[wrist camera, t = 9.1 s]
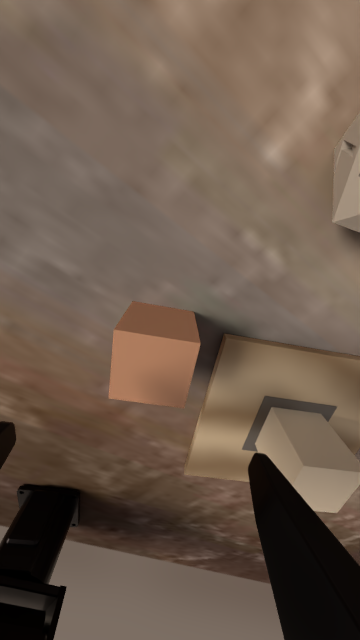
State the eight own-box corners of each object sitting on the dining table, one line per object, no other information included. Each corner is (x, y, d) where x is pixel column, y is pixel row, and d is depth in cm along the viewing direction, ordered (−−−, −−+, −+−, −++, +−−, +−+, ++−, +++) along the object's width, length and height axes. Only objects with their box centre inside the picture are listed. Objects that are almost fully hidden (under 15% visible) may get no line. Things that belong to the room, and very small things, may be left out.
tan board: (323, 482, 24) (328, 491, 23) (184, 466, 22) (184, 475, 22) (406, 364, 18) (418, 370, 17) (224, 333, 16) (226, 338, 16)
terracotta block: (182, 362, 18) (184, 408, 13) (127, 353, 17) (108, 398, 13) (193, 311, 16) (200, 343, 11) (132, 300, 15) (113, 329, 11)
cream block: (300, 449, 20) (337, 513, 16) (254, 443, 20) (278, 507, 15) (321, 413, 19) (368, 473, 14) (271, 406, 18) (303, 465, 14)
